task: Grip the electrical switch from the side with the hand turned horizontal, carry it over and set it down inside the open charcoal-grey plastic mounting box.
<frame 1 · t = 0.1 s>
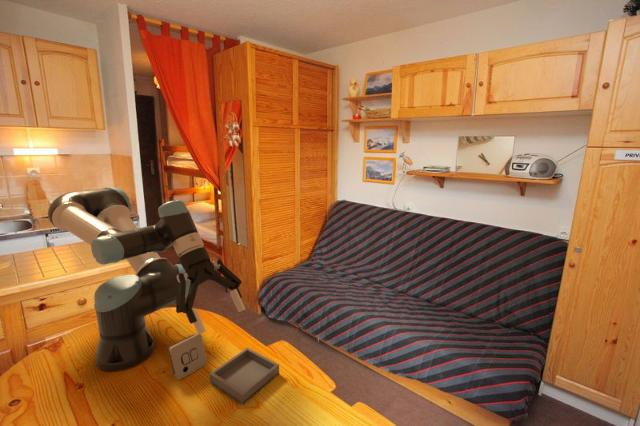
hand: (223, 321, 90), 15 cm above the table, tool tilted 35°, fingers open, 13 cm apart
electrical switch: (187, 369, 93), on the table
mounting box: (245, 378, 90), on the table
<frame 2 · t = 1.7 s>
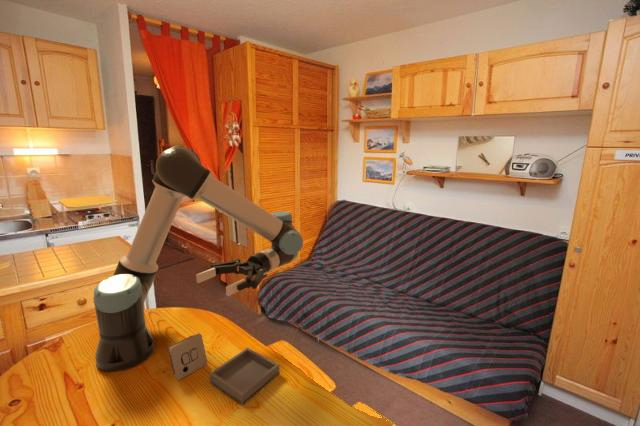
hand: (211, 285, 95), 22 cm above the table, tool horizontal, fingers open, 13 cm apart
nothing on the table moved.
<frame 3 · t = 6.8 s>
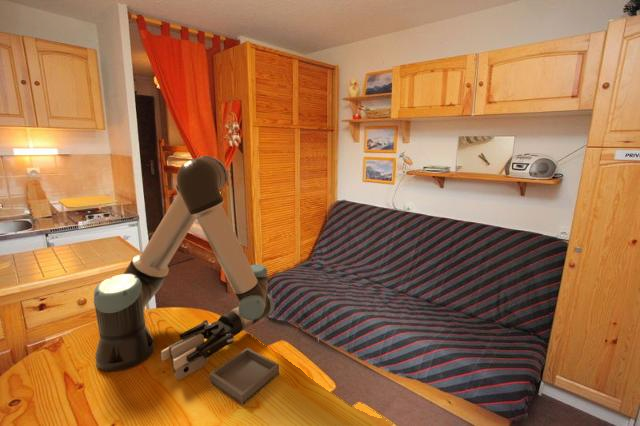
hand: (168, 360, 87), 6 cm above the table, tool horizontal, fingers closed on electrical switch, 5 cm apart
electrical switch: (187, 368, 93), on the table, touching gripper
when the fingers open (8 cm above the table, at t = 12.4 s): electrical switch drops 2 cm, resting on mounting box.
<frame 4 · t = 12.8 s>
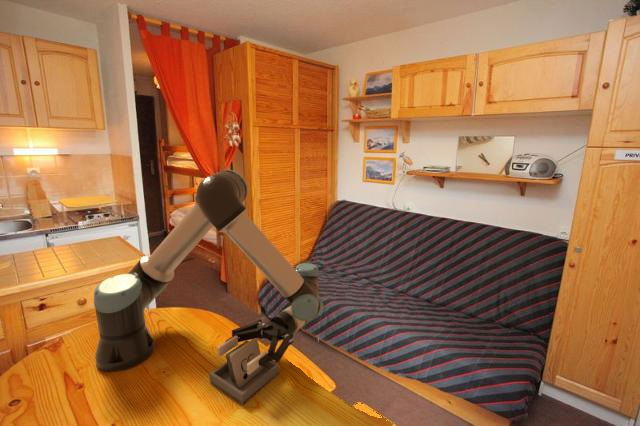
hand: (232, 360, 85), 8 cm above the table, tool horizontal, fingers open, 10 cm apart
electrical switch: (244, 376, 90), point 1 cm above the table, touching mounting box
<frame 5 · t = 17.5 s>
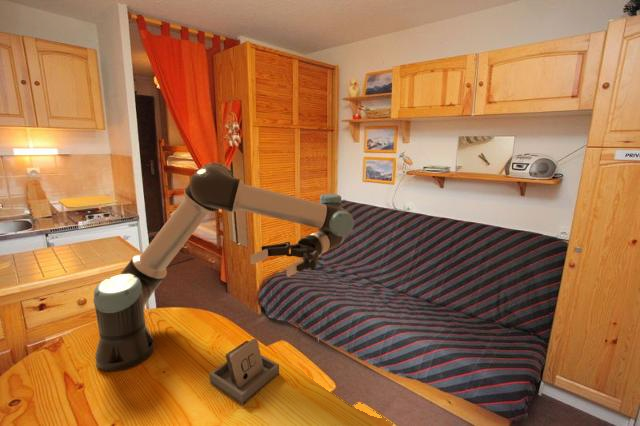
hand: (268, 265, 91), 30 cm above the table, tool horizontal, fingers open, 13 cm apart
nothing on the table moved.
at the end: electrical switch 0.2 cm off-centre on the mounting box, point 0.6 cm above the mounting box's base; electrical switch tilted 2°; the gripper is holding nothing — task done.
